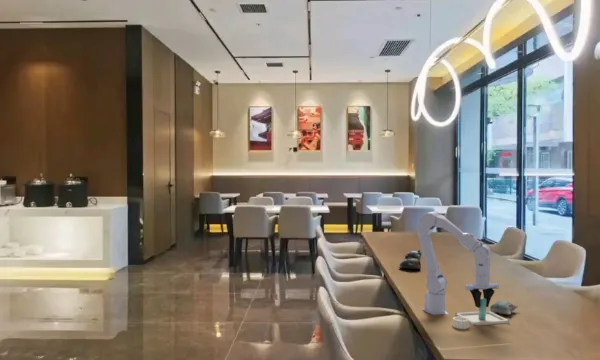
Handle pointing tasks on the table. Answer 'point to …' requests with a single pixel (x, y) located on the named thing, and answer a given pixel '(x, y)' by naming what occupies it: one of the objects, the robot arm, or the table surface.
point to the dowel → (482, 309)
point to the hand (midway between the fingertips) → (481, 306)
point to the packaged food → (503, 307)
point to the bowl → (460, 322)
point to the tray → (490, 319)
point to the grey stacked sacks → (411, 260)
